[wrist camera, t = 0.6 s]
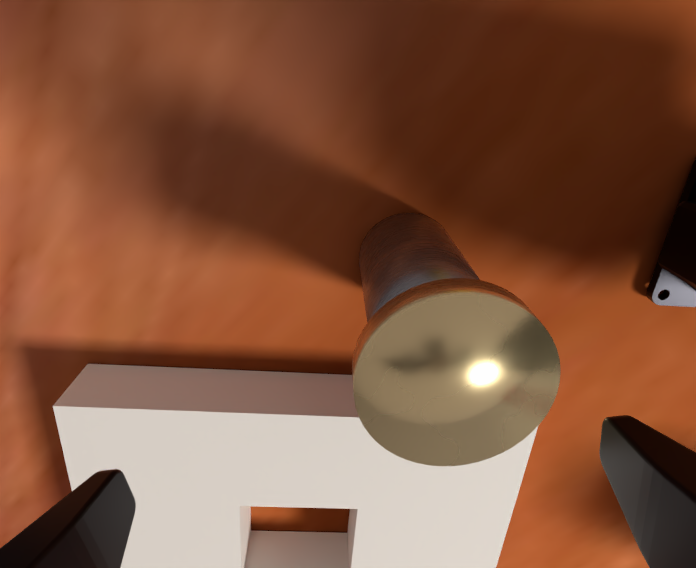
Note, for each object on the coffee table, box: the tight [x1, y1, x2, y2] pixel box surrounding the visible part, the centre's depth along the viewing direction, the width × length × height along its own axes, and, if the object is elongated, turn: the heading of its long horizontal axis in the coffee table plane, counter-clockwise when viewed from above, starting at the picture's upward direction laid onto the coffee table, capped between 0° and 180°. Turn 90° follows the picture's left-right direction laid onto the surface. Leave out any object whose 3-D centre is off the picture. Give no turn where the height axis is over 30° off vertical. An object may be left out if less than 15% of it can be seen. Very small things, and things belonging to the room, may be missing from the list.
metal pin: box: [352, 213, 560, 466], centre depth 16 cm, size 5×5×9 cm
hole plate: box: [53, 364, 538, 568], centre depth 24 cm, size 20×16×3 cm
